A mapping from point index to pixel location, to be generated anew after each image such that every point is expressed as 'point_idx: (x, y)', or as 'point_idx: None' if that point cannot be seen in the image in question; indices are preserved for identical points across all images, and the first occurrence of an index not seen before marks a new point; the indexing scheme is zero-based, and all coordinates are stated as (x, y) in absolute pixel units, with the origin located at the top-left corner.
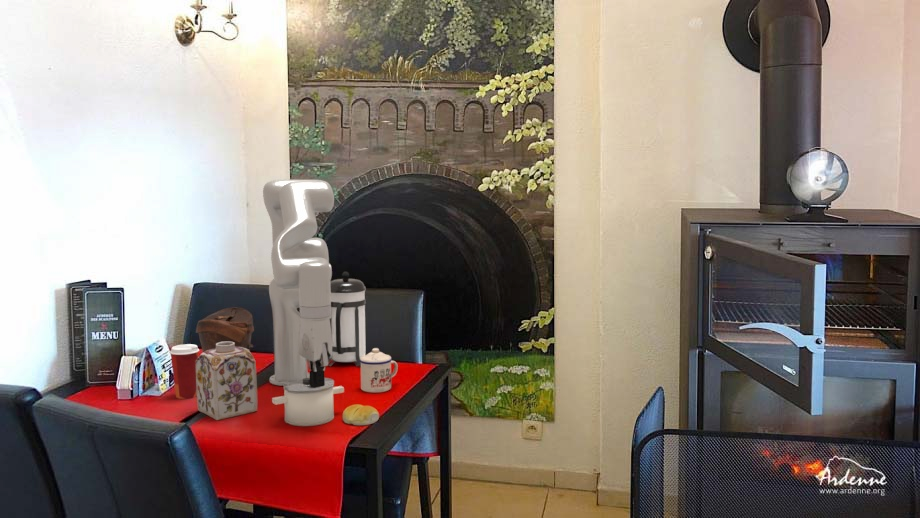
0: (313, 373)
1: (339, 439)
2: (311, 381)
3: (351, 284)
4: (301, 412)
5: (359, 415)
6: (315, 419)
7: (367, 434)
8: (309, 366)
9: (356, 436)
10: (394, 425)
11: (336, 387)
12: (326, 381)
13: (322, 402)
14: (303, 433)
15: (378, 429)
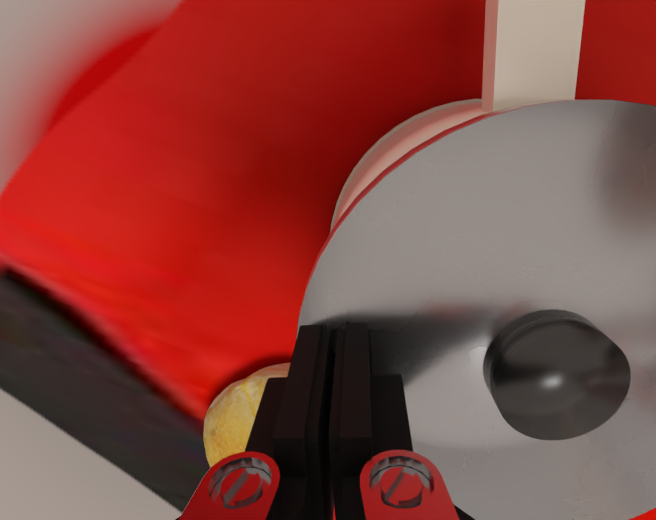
0: (277, 436)
1: (72, 251)
2: (337, 356)
3: None
4: (362, 175)
5: (215, 430)
6: None
7: (95, 374)
8: (433, 501)
9: (86, 328)
10: (163, 495)
11: None
12: (471, 488)
13: None
14: (235, 125)
15: (140, 432)
